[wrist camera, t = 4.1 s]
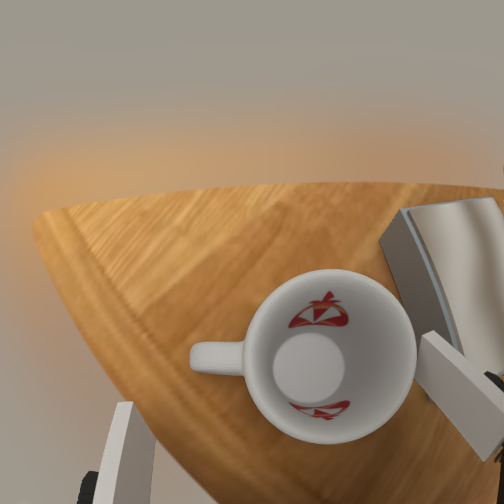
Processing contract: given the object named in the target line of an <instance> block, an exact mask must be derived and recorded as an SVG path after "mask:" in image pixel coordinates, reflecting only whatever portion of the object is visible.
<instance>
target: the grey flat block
mask: <svg viewBox="0 0 504 504" xmlns="http://www.w3.org/2000/svg"><path fill="white" fill-rule="evenodd" d="M379 243H380V245H381V248H382V250H383V253H384V255H385V258H386V260H387V263H388V265H389V268H390V270H391V273H392V276H393V278H394V281H395V284H396V286H397V289H398V292H399V295H400V298H401V301H402V304H403V307H404V310H405V312H406V313H407V315H408V317H409V319H410V322H411V324H412V327H413V330H414V334H415V339H416V347H417V353H419V348H420V343H421V337H422V335H424V334H426V333H428V332H431V331H433V330H434V331H435V332H436V333H437V334H439V335H440V336H441V337H442V338H443V339H444V340H446V341H447V342H448V343H449V344H450V345H451V346H453V347H454V348H455V349H456V350H457V351H458V352H460V353H461V354H462V355H463V356H464V357H465V358H466V359H468V360H469V361H470V362H471V363H472V364H473V365H474V366H475V367H476V368H478V369H479V370H480V371H481V372H482V373H485V372H486V371H489V372H491V373H493V374H496V375H497V376H498V377H499V376H501V375H502V374H503V373H504V216H503V214H502V212H501V210H500V209H499V207H498V205H497V203H496V202H495V200H494V198H492V197H491V196H488V197H481V198H473V199H466V200H458V201H451V202H444V203H437V204H430V205H423V206H416V207H409V208H403V209H400V210H399V211H398V213H397V214H396V216H395V217H394V219H393V220H392V222H391V223H390V225H389V226H388V228H387V229H386V231H385V232H384V233H383V235H382V236H381V238H380V239H379ZM428 398H429V402H430V403H431V402H434V401H433V400H432V399H431V398H430V396H429V395H428Z"/></svg>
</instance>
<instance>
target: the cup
mask: <svg viewBox="0 0 504 504" xmlns="http://www.w3.org/2000/svg"><path fill="white" fill-rule="evenodd" d="M416 364H417V347H416V339H415V334H414V330H413V327H412V324H411V322H410V319H409V317H408V315H407V313H406V312H405V310H404V308H403V307H402V305H401V304H400V303H399V301H398V300H397V299H396V298H395V297H394V296H393V294H392V293H391V292H390V291H388V290H387V289H386V288H385V287H384V286H382V285H381V284H379V283H378V282H376V281H374V280H373V279H371V278H369V277H367V276H364V275H362V274H359V273H356V272H352V271H347V270H340V269H323V270H316V271H311V272H307V273H304V274H301V275H299V276H297V277H294V278H292V279H290V280H289V281H287V282H285V283H284V284H282V285H281V286H279V287H278V288H277V289H275V290H274V291H273V292H272V293H271V294H270V295H269V296H268V297H267V298H266V299H265V300H264V302H263V303H262V304H261V305H260V307H259V308H258V310H257V311H256V313H255V315H254V316H253V318H252V320H251V323H250V325H249V327H248V330H247V333H246V337H245V340H243V341H241V342H199V343H196V344H194V345H193V346H192V348H191V351H190V366H191V368H192V370H194V371H197V372H202V373H209V374H220V375H234V376H244V377H245V381H246V385H247V388H248V391H249V393H250V395H251V397H252V399H253V401H254V403H255V405H256V406H257V408H258V409H259V410H260V412H261V413H262V414H263V415H264V417H265V418H266V419H267V420H268V421H269V422H270V423H272V424H273V425H274V426H275V427H276V428H278V429H279V430H281V431H282V432H284V433H286V434H287V435H289V436H292V437H294V438H296V439H299V440H302V441H306V442H310V443H316V444H340V443H346V442H350V441H353V440H356V439H359V438H362V437H364V436H366V435H368V434H370V433H372V432H373V431H375V430H377V429H378V428H379V427H381V426H382V425H383V424H385V423H386V422H387V421H388V420H389V419H390V418H391V417H392V416H393V415H394V414H395V413H396V412H397V410H398V409H399V408H400V406H401V405H402V403H403V402H404V400H405V398H406V396H407V395H408V392H409V390H410V388H411V385H412V382H413V379H414V375H415V370H416Z"/></svg>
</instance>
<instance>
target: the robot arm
mask: <svg viewBox="0 0 504 504" xmlns="http://www.w3.org/2000/svg"><path fill="white" fill-rule="evenodd" d="M414 379H415V380H416V381H417V382H418V384H419V385H420V386H421V387H422V388H423V389H424V391H425V392H426V393H427V394H428V395H429V396H430V398H431V399H432V400H433V401H434V402H435V403H436V405H437V406H438V407H439V408H440V409H441V411H442V412H443V413H444V414H445V415H446V417H447V418H448V419H449V420H450V421H451V423H452V424H453V425H454V426H455V427H456V429H457V430H458V431H459V432H460V434H461V435H462V436H463V437H464V438H465V440H466V441H467V442H468V443H469V445H470V446H471V447H472V448H473V450H474V451H475V452H476V453H477V455H478V456H479V457H480V459H481V460H482V461H483V462H485V461H486V460H487V459H489V458H490V457H491V456H492V455H493V454H495V453H496V451H497V450H498V449H499V447H500V446H501V445H502V446H503V449H502V450H501V451H500V453H499V454H498V455H497V457H496V458H495V461H494V463H496V462H497V461H498V460H499V458H500V457H501V459H500V461H499V462H501V470H500V481H499V490H498V497H497V503H496V504H504V382H503V380H502V379H500V378H499V377H498V376H497V375H496V374H493V373H491V372H489V371H486V372H485V373H482V372H481V371H480V370H479V369H478V368H476V367H475V366H474V365H473V364H472V363H471V362H470V361H469V360H468V359H466V358H465V357H464V356H463V355H462V354H461V353H460V352H458V351H457V350H456V349H455V348H454V347H453V346H451V345H450V344H449V343H448V342H447V341H446V340H444V339H443V338H442V337H441V336H440V335H439V334H437V333H436V332H435V331H434V330H433V331H431V332H428V333H426V334H424V335H422V337H421V343H420V348H419V353H418V357H417V364H416V370H415V375H414ZM155 442H156V438H155V436H154V435H153V433H152V432H151V430H150V428H149V427H148V425H147V424H146V422H145V420H144V419H143V417H142V415H141V414H140V412H139V410H138V409H137V407H136V405H135V404H134V402H133V401H132V402H118V403H117V407H116V410H115V413H114V417H113V420H112V424H111V428H110V431H109V435H108V439H107V443H106V447H105V450H104V454H103V459H102V462H101V467H100V471H99V472H94V471H89V472H88V473H87V474H86V476H85V477H84V479H83V480H82V484H81V488H80V493H79V496H78V501H77V504H150V492H151V480H152V470H153V460H154V451H155Z"/></svg>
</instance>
